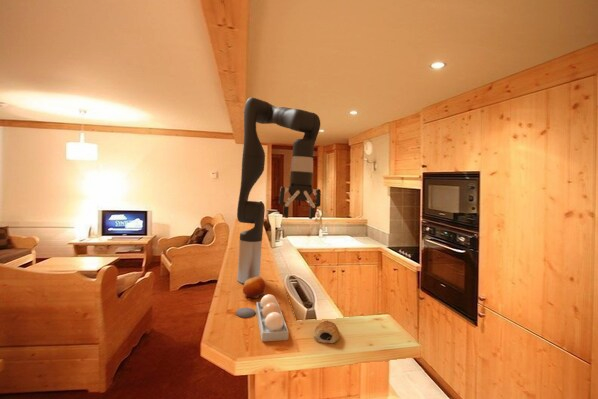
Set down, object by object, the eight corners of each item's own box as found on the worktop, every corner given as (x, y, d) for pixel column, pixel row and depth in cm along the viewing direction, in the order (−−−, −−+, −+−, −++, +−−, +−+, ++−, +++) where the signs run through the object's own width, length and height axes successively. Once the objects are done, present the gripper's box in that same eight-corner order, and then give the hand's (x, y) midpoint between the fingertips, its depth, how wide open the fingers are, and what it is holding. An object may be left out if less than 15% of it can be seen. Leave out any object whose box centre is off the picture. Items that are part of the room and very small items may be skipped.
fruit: (263, 298, 100) (253, 277, 101) (245, 306, 102) (236, 285, 103) (273, 290, 107) (264, 271, 108) (256, 298, 110) (247, 278, 111)
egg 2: (263, 326, 82) (264, 309, 81) (281, 326, 83) (282, 308, 83) (265, 336, 77) (266, 317, 76) (284, 335, 78) (285, 316, 78)
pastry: (317, 325, 87) (318, 313, 86) (339, 329, 85) (341, 317, 85) (313, 342, 77) (314, 328, 77) (338, 346, 76) (339, 332, 76)
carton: (256, 309, 94) (256, 302, 94) (277, 308, 96) (277, 301, 96) (261, 341, 76) (262, 332, 76) (288, 339, 77) (288, 331, 77)
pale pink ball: (262, 325, 83) (264, 307, 82) (260, 316, 88) (262, 299, 87) (280, 324, 84) (281, 307, 84) (277, 316, 89) (279, 299, 89)
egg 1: (259, 307, 94) (260, 291, 94) (275, 307, 95) (276, 291, 95) (260, 314, 89) (261, 298, 89) (277, 314, 90) (278, 298, 90)
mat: (235, 309, 93) (235, 308, 93) (254, 308, 95) (254, 307, 95) (236, 317, 88) (236, 316, 87) (255, 317, 89) (255, 315, 89)
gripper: (283, 169, 93) (279, 219, 94) (325, 172, 96) (321, 220, 97) (279, 169, 100) (276, 216, 101) (318, 172, 103) (315, 217, 104)
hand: (298, 218), depth 99 cm, fingers open, 8 cm apart
